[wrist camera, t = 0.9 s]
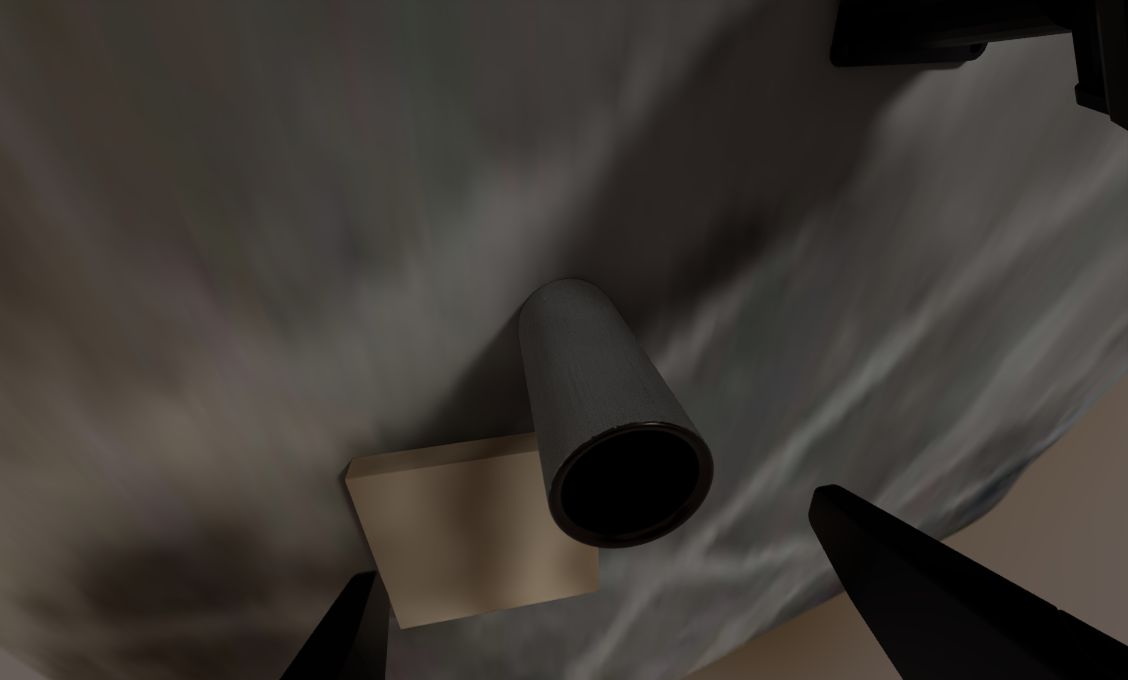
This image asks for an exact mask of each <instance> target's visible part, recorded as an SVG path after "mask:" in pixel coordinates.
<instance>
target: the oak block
mask: <svg viewBox="0 0 1128 680" xmlns="http://www.w3.org/2000/svg"><path fill="white" fill-rule="evenodd" d="M345 482H346V484H347V487H348V490H349V492H350V495H351V498H352V500H353V503H354V506H355V508H356V511H357V514H358V516H359V519H360V522H361V524H362V527H363V530H364V532H365V535H366V538H367V540H368V543H369V546H370V548H371V551H372V554H373V556H374V559H375V562H376V564H377V567H378V570H379V572H380V575H381V578H382V580H383V582H384V585H385V587H386V589H387V592H388V594H389V598H390V602H391V604H392V607H393V610H394V612H395V615H396V618H397V620H398V623H399V626H400V628H401V629H404V628H410V627H415V626H420V625H425V624H430V623H436V622H441V621H446V620H451V619H457V618H462V617H467V616H472V615H477V614H483V613H488V612H493V611H498V610H503V609H509V608H514V607H519V606H524V605H529V604H535V603H540V602H545V601H550V600H555V599H561V598H566V597H571V596H576V595H581V594H587V593H592V592H597V591H599V562H598V547H593V546H589V545H585V544H583V543H580V542H578V541H576V540H574V539H572V538H570V537H569V536H568V535H566V534H565V533H564V532H563V531H562V530H561V529H560V528H559V527H558V526H557V525H556V523H555V522H554V520H553V518H552V516H551V514H550V511H549V507H548V502H547V497H546V491H545V486H544V480H543V474H542V468H541V463H540V457H539V451H538V445H537V440H536V434H535V432H530V433H523V434H516V435H509V436H502V437H495V438H488V439H482V440H475V441H468V442H461V443H454V444H447V445H440V446H433V447H427V448H420V449H413V450H406V451H399V452H392V453H385V454H379V455H372V456H365V457H358V458H352V461H351V464H350V467H349V469H348V472H347V475H346V478H345Z"/></svg>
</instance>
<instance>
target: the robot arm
mask: <svg viewBox="0 0 1128 680" xmlns="http://www.w3.org/2000/svg"><path fill="white" fill-rule="evenodd" d="M1071 32H1072V37H1073V45H1074V52H1075V59H1076V66H1077V73H1078V80H1079V83H1078V84H1077V85H1076V86H1075V95H1076V102H1077V104H1078V105H1081V106H1084V107H1087V108H1090V109H1093V110H1096V111H1098V112H1101V113H1104V114H1107V115H1109V116H1110V119H1111V121H1112V122H1114V123H1116V124H1117V125H1119V126H1121V127H1122V128H1124V129H1126V130H1127V131H1128V0H840V5H839V10H838V15H837V20H836V25H835V31H834V36H833V41H832V46H831V51H830V60H831V63H832V64H833V65H834V66H836V67H854V66H875V65H896V64H918V63H939V62H960V61H972V60H975V59H977V58H978V57H980V56H981V54H982V53H983V52H984V51H985V48H986V46H987V44H988V42H996V41H1004V40H1013V39H1021V38H1030V37H1038V36H1046V35H1055V34H1063V33H1071ZM971 44H972V48H971V50H970V45H971ZM846 45H847V47H848V53H847V56H846V57H845V58H844V56H843V50H844V48H845V46H846ZM808 517H809V521H810V524H811V526H812V528H813V530H814V532H815V534H816V536H817V538H818V540H819V542H820V543H821V545H822V547H823V549H824V551H825V553H826V555H827V557H828V558H829V560H830V562H831V564H832V566H833V568H834V570H835V572H836V574H837V575H838V577H839V579H840V581H841V583H842V585H843V587H844V588H845V590H846V592H847V594H848V595H849V597H850V599H851V600H852V602H853V603H854V605H855V607H856V608H857V610H858V611H859V613H860V614H861V616H862V617H863V619H864V620H865V622H866V624H867V625H868V627H869V628H870V630H871V631H872V633H873V634H874V636H875V637H876V639H877V641H878V642H879V644H880V645H881V647H882V648H883V650H884V651H885V653H886V654H887V656H888V657H889V659H890V660H891V662H892V664H893V665H894V667H895V668H896V670H897V671H898V673H899V674H900V676H901V677H902V679H903V680H1128V646H1127V645H1125V644H1123V643H1121V642H1120V641H1118V640H1116V639H1114V638H1112V637H1110V636H1109V635H1107V634H1105V633H1103V632H1101V631H1099V630H1097V629H1096V628H1094V627H1092V626H1090V625H1088V624H1086V623H1085V622H1083V621H1081V620H1079V619H1078V618H1076V617H1074V616H1072V615H1070V614H1069V613H1067V612H1065V611H1063V610H1058V609H1057V607H1055V606H1054V605H1052V604H1050V603H1049V602H1047V601H1045V600H1043V599H1041V598H1039V597H1038V596H1036V595H1034V594H1032V593H1031V592H1029V591H1027V590H1025V589H1024V588H1022V587H1020V586H1018V585H1016V584H1015V583H1013V582H1011V581H1009V580H1007V579H1005V578H1004V577H1002V576H1000V575H998V574H997V573H995V572H993V571H991V570H989V569H988V568H986V567H984V566H982V565H981V564H979V563H977V562H975V561H973V560H971V559H970V558H968V557H966V556H964V555H963V554H961V553H959V552H957V551H955V550H954V549H952V548H950V547H948V546H946V545H945V544H943V543H941V542H939V541H938V540H936V539H934V538H932V537H930V536H929V535H927V534H925V533H923V532H921V531H920V530H918V529H916V528H914V527H912V526H911V525H909V524H907V523H905V522H904V521H902V520H900V519H898V518H896V517H895V516H893V515H891V514H889V513H887V512H886V511H884V510H882V509H880V508H878V507H877V506H875V505H873V504H871V503H869V502H868V501H866V500H864V499H862V498H861V497H859V496H857V495H855V494H853V493H852V492H850V491H848V490H846V489H844V488H843V487H841V486H838V485H835V484H831V485H826V486H820V487H817V488H816V489H815V491H814V494H813V497H812V501H811V505H810V508H809V513H808ZM389 616H390V598H389V594H388V592H387V589H386V587H385V585H384V582H383V580H382V578H381V575H380V573H379V572H378V571H377V570H371V571H365V572H360V573H357V574H355V575H354V576H353V577H352V578H351V579H350V581H349V582H348V583H347V585H346V586H345V588H344V589H343V590H342V592H341V593H340V595H339V596H338V597H337V599H336V600H335V602H334V603H333V605H332V606H331V607H330V609H329V610H328V612H327V613H326V614H325V616H324V617H323V619H322V620H321V621H320V623H319V624H318V626H317V627H316V629H315V630H314V631H313V633H312V634H311V636H310V637H309V638H308V640H307V641H306V643H305V644H304V645H303V647H302V648H301V650H300V651H299V652H298V654H297V655H296V657H295V658H294V660H293V661H292V662H291V664H290V665H289V667H288V668H287V669H286V671H285V672H284V674H283V675H282V676H281V678H280V679H279V680H385V671H386V657H387V643H388V629H389Z"/></svg>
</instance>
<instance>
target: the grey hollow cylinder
mask: <svg viewBox="0 0 1128 680" xmlns="http://www.w3.org/2000/svg"><path fill="white" fill-rule="evenodd" d="M518 332H519V341H520V347H521V353H522V359H523V364H524V370H525V376H526V382H527V388H528V393H529V399H530V405H531V411H532V416H533V422H534V428H535V434H536V440H537V445H538V451H539V457H540V463H541V468H542V474H543V480H544V486H545V491H546V497H547V502H548V507H549V511H550V514H551V516H552V518H553V520H554V522H555V523H556V525H557V526H558V527H559V528H560V529H561V530H562V531H563V532H564V533H565V534H566V535H568V536H569V537H570V538H572V539H574V540H576V541H578V542H580V543H583V544H585V545H589V546H593V547H598V548H608V549H617V548H628V547H633V546H638V545H642V544H645V543H648V542H651V541H654V540H656V539H659V538H661V537H663V536H665V535H667V534H669V533H670V532H672V531H674V530H675V529H677V528H678V527H679V526H681V525H682V524H683V523H685V522H686V521H687V520H688V519H689V518H690V517H691V516H692V515H693V514H694V513H695V512H696V511H697V510H698V508H699V507H700V506H701V504H702V503H703V501H704V500H705V498H706V496H707V494H708V492H709V490H710V487H711V484H712V480H713V473H714V465H713V458H712V455H711V452H710V449H709V447H708V446H707V444H706V442H705V441H704V439H703V438H702V436H701V435H700V433H699V432H698V430H697V429H696V427H695V426H694V424H693V423H692V421H691V420H690V418H689V417H688V415H687V414H686V412H685V411H684V409H683V408H682V406H681V405H680V403H679V402H678V400H677V399H676V397H675V396H674V394H673V393H672V391H671V390H670V388H669V387H668V385H667V384H666V382H665V381H664V379H663V378H662V376H661V375H660V373H659V372H658V370H657V369H656V367H655V366H654V365H653V363H652V362H651V360H650V359H649V357H648V356H647V354H646V353H645V351H644V350H643V348H642V347H641V345H640V344H639V342H638V341H637V339H636V338H635V336H634V335H633V333H632V332H631V330H630V329H629V327H628V326H627V324H626V323H625V321H624V320H623V318H622V317H621V315H620V314H619V312H618V311H617V309H616V308H615V306H614V305H613V303H612V302H611V301H610V299H609V298H608V297H607V296H606V295H605V293H604V292H603V291H602V290H601V289H599V288H598V287H597V286H595V285H593V284H591V283H589V282H586V281H583V280H578V279H562V280H557V281H554V282H551V283H548V284H546V285H544V286H543V287H541V288H539V289H538V290H537V291H536V292H534V293H533V294H532V295H531V296H530V297H529V299H528V300H527V301H526V303H525V304H524V306H523V308H522V310H521V313H520V317H519V322H518Z"/></svg>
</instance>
